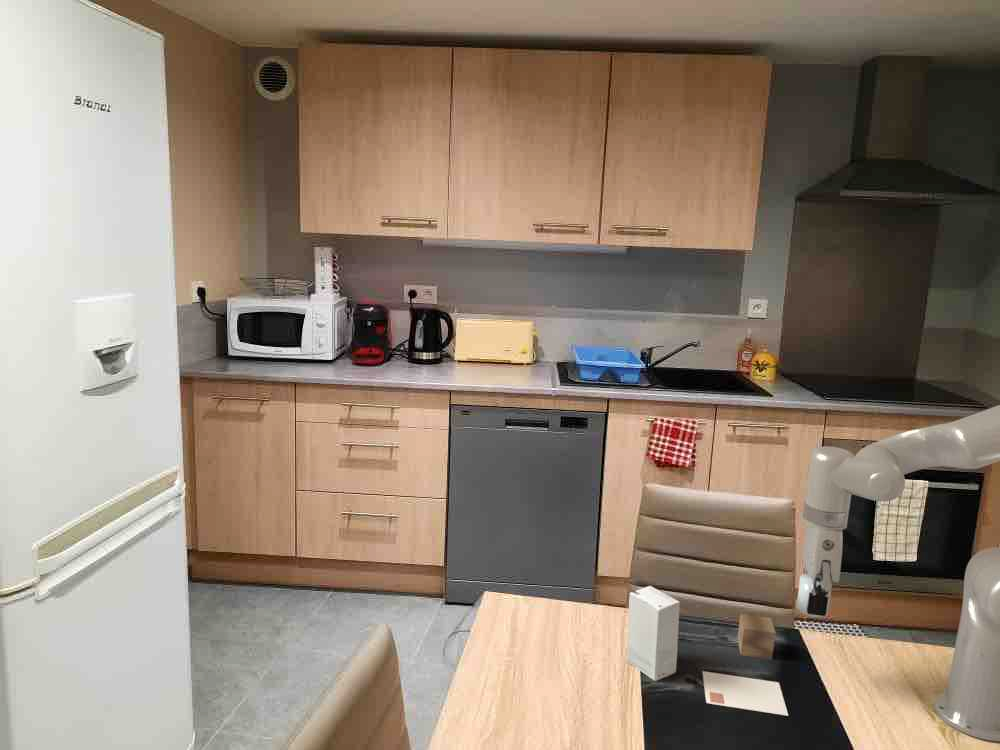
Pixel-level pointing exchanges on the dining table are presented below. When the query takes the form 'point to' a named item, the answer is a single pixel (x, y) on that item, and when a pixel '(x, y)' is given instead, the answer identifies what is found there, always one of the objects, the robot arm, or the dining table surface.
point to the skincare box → (653, 632)
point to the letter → (744, 693)
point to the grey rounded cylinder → (803, 594)
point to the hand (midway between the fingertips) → (812, 605)
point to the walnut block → (756, 636)
